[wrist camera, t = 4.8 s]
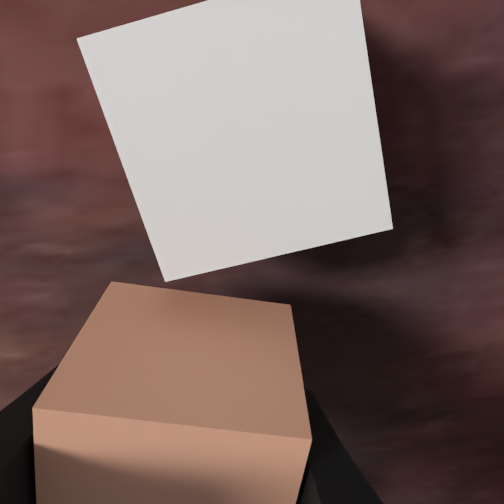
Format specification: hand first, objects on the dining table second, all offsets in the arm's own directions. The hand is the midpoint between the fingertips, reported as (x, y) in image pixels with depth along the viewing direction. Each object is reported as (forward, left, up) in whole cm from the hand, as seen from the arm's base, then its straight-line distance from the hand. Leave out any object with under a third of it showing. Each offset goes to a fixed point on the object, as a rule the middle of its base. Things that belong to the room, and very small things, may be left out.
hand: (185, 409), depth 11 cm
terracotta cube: (0, 0, -2) cm, 2 cm away
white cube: (+6, -1, -6) cm, 8 cm away
